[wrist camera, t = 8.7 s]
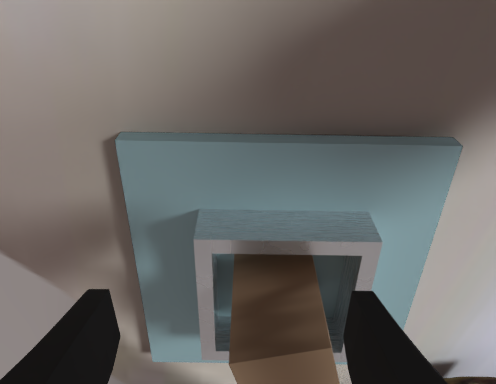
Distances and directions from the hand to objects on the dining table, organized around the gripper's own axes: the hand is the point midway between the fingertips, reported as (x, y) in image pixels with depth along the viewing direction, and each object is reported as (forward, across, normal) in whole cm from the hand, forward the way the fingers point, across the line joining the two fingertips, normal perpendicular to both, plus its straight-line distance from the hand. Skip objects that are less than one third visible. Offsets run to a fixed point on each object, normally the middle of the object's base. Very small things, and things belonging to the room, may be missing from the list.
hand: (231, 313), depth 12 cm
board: (+9, -2, +6) cm, 11 cm away
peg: (+8, -2, +6) cm, 10 cm away
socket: (+9, -2, +6) cm, 11 cm away
